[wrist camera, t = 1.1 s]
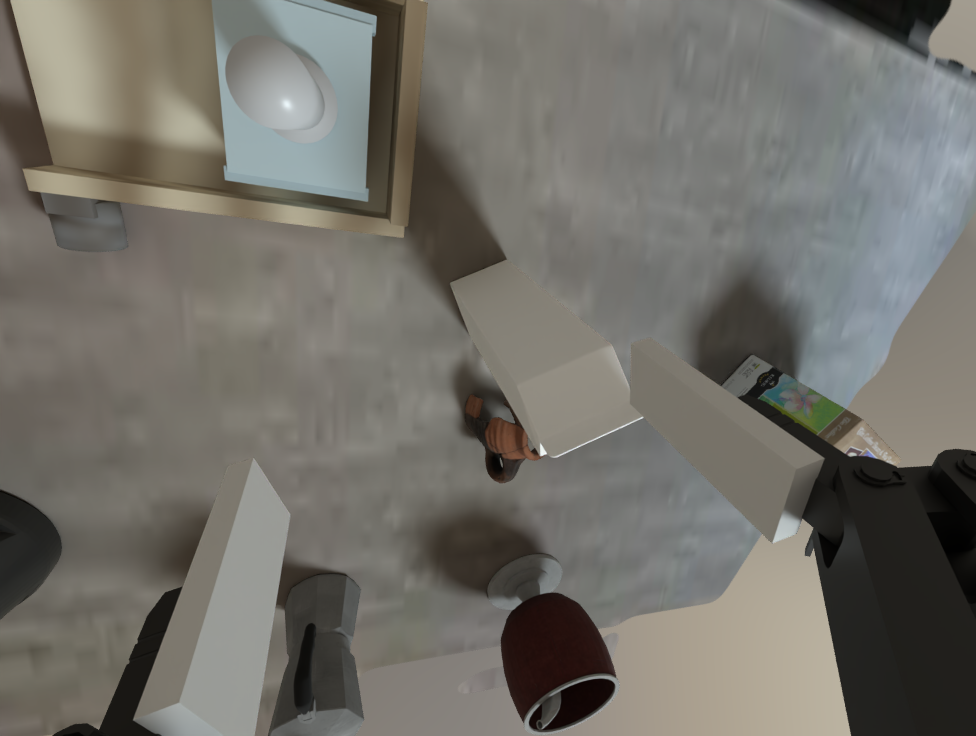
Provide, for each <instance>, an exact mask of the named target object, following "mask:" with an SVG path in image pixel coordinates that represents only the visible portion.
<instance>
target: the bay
mask: <svg viewBox="0 0 976 736" xmlns="http://www.w3.org/2000/svg"><path fill="white" fill-rule="evenodd" d="M10 1H11V4H12V8H13V12H14V16H15V20H16V24H17V27H18V31H19V35H20V39H21V43H22V46H23V50H24V54H25V58H26V62H27V66H28V69H29V73H30V77H31V81H32V85H33V89H34V92H35V96H36V100H37V104H38V108H39V112H40V115H41V119H42V123H43V127H44V131H45V134H46V138H47V142H48V146H49V150H50V154H51V157H52V161H53V165H50V166H41V167H32V168H23V172H24V175H25V179H26V182H27V186H28V189H29V191H36V192H40V193H41V197H42V200H43V204H44V207H45V211H46V213H48V214H49V217H50V221H51V224H52V228H53V231H54V235H55V239H56V242H57V245H58V246H59V247H61V248H64V249H68V250H75V251H85V252H107V251H117V250H122V249H125V248H127V247H128V241H127V236H126V231H125V227H124V222H123V217H122V212H121V207H120V202H123V203H131V204H139V205H147V206H155V207H163V208H170V209H178V210H186V211H194V212H202V213H210V214H218V215H226V216H234V217H242V218H249V219H257V220H265V221H273V222H281V223H289V224H297V225H305V226H313V227H321V228H328V229H336V230H344V231H352V232H360V233H368V234H376V235H384V236H392V237H400V238H404V227H408V221H409V209H410V198H411V187H412V175H413V164H414V153H415V141H416V130H417V119H418V108H419V96H420V85H421V74H422V62H423V51H424V40H425V29H426V17H427V6H428V3H426V2H424V0H324V1H327V2H330V3H334V4H337V5H341V6H344V7H347V8H351V9H354V10H358V11H361V12H365V13H368V14H371V15H375V16H377V20H376V35H375V37H374V36H372V52H371V75H370V98H369V121H368V145H367V168H366V187H368V188H369V193H368V202H367V201H360V200H354V199H347V198H340V197H334V196H327V195H320V194H314V193H307V192H301V191H294V190H287V189H281V188H274V187H267V186H261V185H254V184H247V183H241V182H234V181H228V180H225V175H224V166H225V165H227V161H226V151H225V140H224V129H223V118H222V107H221V97H220V86H219V75H218V64H217V54H216V43H215V32H214V21H213V11H212V0H10Z"/></svg>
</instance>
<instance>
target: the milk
mask: <svg viewBox="0 0 976 736" xmlns="http://www.w3.org/2000/svg"><path fill="white" fill-rule="evenodd" d="M450 286H451V288H452V291H453V294H454V296H455V299H456V301H457V304H458V307H459V309H460V312H461V315H462V317H463V320H464V322H465V325H466V328H467V330H468V333H469V335H470V337H471V339H472V341H473V342H474V344H475V346H476V347H477V349H478V351H479V353H480V354H481V356H482V358H483V359H484V361H485V363H486V365H487V366H488V368H489V370H490V371H491V373H492V375H493V377H494V378H495V380H496V382H497V383H498V385H499V387H500V389H501V390H502V392H503V394H504V395H505V397H506V399H507V401H508V402H509V404H510V406H511V407H512V409H513V411H514V413H515V414H516V416H517V418H518V419H519V421H520V423H521V425H522V426H523V428H524V430H525V431H526V433H527V435H528V437H529V438H530V440H531V442H532V444H533V445H534V447H535V449H536V450H537V452H538V454H539V455H540V456H543V455H545V454H548V455H549V456H550V457H554V458H555V457H558V456H560V455H563V454H565V453H567V452H569V451H571V450H574V449H576V448H578V447H580V446H582V445H585V444H587V443H589V442H591V441H593V440H596V439H598V438H600V437H602V436H604V435H607V434H609V433H611V432H613V431H615V430H618V429H620V428H622V427H624V426H626V425H628V424H631V423H633V422H635V421H637V420H639V419H642V418H644V417H643V416H642V415H641V414H640V413H639V412H638V411H637V410H636V409H635V408H634V407H633V406H632V405H631V404H630V387H629V385H628V382H627V380H626V378H625V375H624V373H623V370H622V368H621V365H620V363H619V361H618V358H617V356H616V353H615V351H614V348H613V346H612V345H611V344H610V343H609V342H608V341H607V340H605V339H604V338H603V337H602V336H601V335H599V334H598V333H597V332H596V331H594V330H593V329H592V328H591V327H590V326H588V325H587V324H586V323H585V322H583V321H582V320H581V319H580V318H578V317H577V316H576V315H575V314H574V313H572V312H571V311H570V310H569V309H567V308H566V307H565V306H564V305H563V304H561V303H560V302H559V301H558V300H556V299H555V298H554V297H553V296H551V295H550V294H549V293H548V292H547V291H545V290H544V289H543V288H542V287H540V286H539V285H538V284H537V283H536V282H534V281H533V280H532V279H531V278H529V277H528V276H527V275H526V274H525V273H523V272H522V271H521V270H520V269H518V268H517V267H516V266H515V265H513V264H512V263H511V262H510V261H509V260H504V261H502V262H499V263H497V264H494V265H492V266H490V267H487V268H485V269H482V270H480V271H477V272H475V273H473V274H470V275H468V276H465V277H463V278H460V279H458V280H456V281H453V282H451V283H450Z"/></svg>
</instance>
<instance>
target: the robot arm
mask: <svg viewBox="0 0 976 736" xmlns="http://www.w3.org/2000/svg"><path fill="white" fill-rule="evenodd" d="M630 404H631V405H632V406H633V407H634V408H635V409H636V410H637V411H638V412H639V413H640V414H641V415H642V416H643V417H644V418H645V419H646V420H647V421H648V422H649V423H650V424H651V425H652V426H653V427H654V428H655V429H656V430H657V431H658V432H659V433H660V434H661V435H662V436H663V437H664V438H665V439H666V440H667V441H668V442H669V443H670V444H671V445H672V446H673V447H674V448H675V449H676V450H677V451H678V452H679V453H680V454H681V455H683V456H684V457H685V458H686V459H687V460H688V461H689V462H690V463H691V464H692V465H693V466H694V467H695V468H696V469H697V470H698V471H699V472H700V473H701V474H702V475H703V476H704V477H705V478H706V479H707V480H708V481H709V482H710V483H711V484H712V485H713V486H714V487H715V488H716V489H717V490H718V491H719V492H720V493H721V494H722V495H723V496H724V497H725V498H726V499H727V500H728V501H729V502H730V503H731V504H732V505H733V506H734V507H735V508H736V509H737V510H739V511H740V512H741V513H742V514H743V515H744V516H745V517H746V518H747V519H748V520H749V521H750V522H751V523H752V524H753V525H754V526H755V527H756V528H757V529H758V530H759V531H760V532H761V533H762V534H763V535H764V536H765V537H766V538H767V539H768V540H769V541H770V542H771V543H772V544H773V543H775V542H777V541H780V540H782V539H785V538H787V537H790V536H792V535H795V534H797V532H798V529H799V527H800V524H801V521H802V518H803V519H804V520H805V521H806V522H807V523H809V524H810V525H811V526H812V527H813V531H812V534H811V536H810V538H809V541H808V543H807V546H806V548H805V556H810V555H811V553H812V551H813V548H814V551H815V556H816V561H817V566H818V571H819V576H820V581H821V586H822V591H823V596H824V601H825V606H826V611H827V616H828V621H829V626H830V631H831V636H832V641H833V646H834V652H835V656H836V662H837V667H838V672H839V677H840V682H841V687H842V692H843V696H844V702H845V707H846V712H847V717H848V722H849V726H850V732H851V736H976V452H975V451H971V450H961V449H953V450H945V451H943V452H941V453H940V454H938V456H937V458H936V459H935V461H934V463H933V465H932V466H921V467H905V468H897V467H896V466H894V465H892V464H890V463H888V462H885V461H883V460H881V459H877V458H873V457H868V456H851V457H850V456H848V455H847V454H845V453H843V452H842V451H840V450H839V449H837V448H836V447H834V446H833V445H831V444H830V443H828V442H827V441H825V440H824V439H822V438H820V437H819V436H817V435H816V434H814V433H813V432H811V431H810V430H808V429H807V428H805V427H804V426H802V425H801V424H799V423H795V421H794V420H793V419H791V418H790V417H788V416H787V415H785V414H782V413H781V411H779V410H778V409H776V408H775V407H773V406H772V405H770V404H769V403H767V402H765V401H763V400H760V399H757V398H754V397H752V396H749V395H746V394H745V395H742V396H739V397H735V396H734V395H732V394H731V393H730V392H728V391H727V390H725V389H724V388H722V387H721V386H719V385H718V384H717V383H715V382H714V381H712V380H711V379H709V378H708V377H706V376H705V375H704V374H702V373H701V372H699V371H698V370H696V369H695V368H693V367H692V366H691V365H689V364H688V363H686V362H685V361H683V360H682V359H680V358H679V357H678V356H676V355H675V354H673V353H672V352H670V351H669V350H667V349H666V348H665V347H663V346H662V345H660V344H659V343H657V342H656V341H654V340H653V339H652V338H647V339H644V340H640V341H637V342H634V343H631V375H630ZM289 520H290V513H289V512H288V510H287V509H286V507H285V506H284V504H283V503H282V501H281V499H280V498H279V496H278V495H277V493H276V492H275V490H274V489H273V487H272V485H271V484H270V482H269V481H268V479H267V478H266V476H265V475H264V473H263V471H262V470H261V468H260V467H259V465H258V464H257V462H256V461H255V459H254V458H251V459H248V460H244V461H241V462H238V463H235V464H231V465H228V467H227V470H226V472H225V475H224V478H223V481H222V483H221V486H220V489H219V491H218V494H217V497H216V499H215V502H214V505H213V507H212V510H211V513H210V515H209V518H208V521H207V523H206V526H205V529H204V531H203V534H202V537H201V539H200V542H199V545H198V547H197V550H196V553H195V555H194V558H193V561H192V563H191V566H190V569H189V571H188V574H187V577H186V579H185V582H184V585H183V587H180V588H177V589H174V590H171V591H168V592H165V593H164V595H163V596H162V597H161V599H160V600H159V601H158V603H157V604H156V605H155V607H154V608H153V609H152V611H151V612H150V613H149V615H148V616H147V618H146V621H145V623H144V625H143V628H142V630H141V632H140V635H139V637H138V639H137V640H138V644H135V646H134V649H133V651H132V654H131V656H130V658H129V660H130V663H129V664H127V665H126V668H125V670H124V672H123V675H122V677H121V679H120V682H119V684H118V687H117V689H116V691H115V694H114V696H113V698H112V701H111V703H110V705H109V708H108V710H107V712H106V715H105V717H104V720H103V722H102V724H101V727H100V729H99V730H98V729H96V728H94V727H93V726H91V725H89V724H87V723H86V724H74V725H72V726H69V727H67V728H65V729H63V730H61V731H59V732H57V733H56V734H54V735H53V736H254V735H255V729H256V723H257V717H258V711H259V704H260V698H261V692H262V686H263V680H264V674H265V668H266V662H267V655H268V649H269V643H270V637H271V631H272V625H273V619H274V612H275V606H276V600H277V594H278V588H279V582H280V576H281V570H282V563H283V557H284V551H285V545H286V539H287V533H288V527H289ZM61 549H62V546H61V539H60V536H59V534H58V532H57V530H56V528H55V527H54V525H53V524H52V523H51V522H50V521H49V520H48V519H47V518H46V517H45V516H44V515H43V514H42V513H40V512H39V511H38V510H36V509H35V508H33V507H32V506H30V505H28V504H27V503H25V502H23V501H21V500H19V499H17V498H15V497H12V496H10V495H7V494H4V493H2V492H0V620H1V619H2V618H3V617H4V616H5V615H6V614H7V613H9V612H10V611H11V610H12V609H13V608H14V607H15V606H16V605H18V604H20V603H21V602H23V601H24V600H25V599H27V598H28V597H29V596H31V595H32V594H33V593H34V592H35V591H36V590H37V589H38V588H39V587H40V586H41V585H42V584H43V583H44V581H45V580H46V578H47V577H48V575H49V574H50V572H51V571H52V570H53V568H54V567H55V565H56V564H57V562H58V560H59V558H60V555H61Z"/></svg>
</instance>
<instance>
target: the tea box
mask: <svg viewBox="0 0 976 736" xmlns="http://www.w3.org/2000/svg"><path fill="white" fill-rule="evenodd" d="M721 387H722V388H724V389H725V390H727V391H728V392H730V393H731V394H732V395H734V396H735V397H739V396H742V395H745V394H746V395H749V396H752V397H754V398H757V399H760V400H763V401H765V402H767V403H769V404H770V405H772V406H773V407H775V408H776V409H778V410H779V411H781V413H782V414H785V415H787V416H788V417H790V418H791V419H793V420H794V421H795V423H799V424H801V425H802V426H804V427H805V428H807V429H808V430H810V431H811V432H813V433H814V434H816V435H817V436H819V437H820V438H822V439H824V440H825V441H827V442H828V443H830V444H831V445H833V446H834V447H836V448H837V449H839V450H840V451H842V452H843V453H845V454H847V455H848V456H850V457H851V456H868V457H873V458H877V459H881V460H883V461H885V462H888V463H890V464H892V465H894V466H896V465H897V464H898V463H899V462H900V461H901V459H900V458H899V457H898V456H897V455H896V453H895V452H893V450H892V449H890V447H889V446H888V445H887V444H886V443H885V442H884V441H883V440H882V439H881V438H880V437H879V436H878V435H877V434H876V433H875V432H874V430H873V429H872V428H871V427H870V426H869V425H868V424H867V423H866V422H865V421H864V420H863V419H861V418H860V417H858V416H856V415H855V414H853V413H851V412H850V411H848V410H846V409H845V408H843V407H841V406H839V405H838V404H836V403H834V402H832V401H831V400H829V399H827V398H826V397H824V396H822V395H821V394H819V393H817V392H816V391H814V390H812V389H811V388H809V387H807V386H805V385H804V384H802V383H800V382H798V381H797V380H795V379H794V378H792V377H790V376H789V375H787V374H785V373H784V372H782V371H780V370H778V369H777V368H775V367H773V366H772V365H770V364H768V363H767V362H765V361H763V360H761V359H760V358H758V357H756V356H755V355H751V356H750V357H749V358H748V359H747V360H746V361H745V362H744V363H743V364H742V365H741V366H740V367H739V368H738V369H737V370H736V371H735V372H734V373H733V374H732V375H731V376H730V377H729V378H728V379H727V380H726V381H725V382H724V384H723V385H722V386H721Z"/></svg>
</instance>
